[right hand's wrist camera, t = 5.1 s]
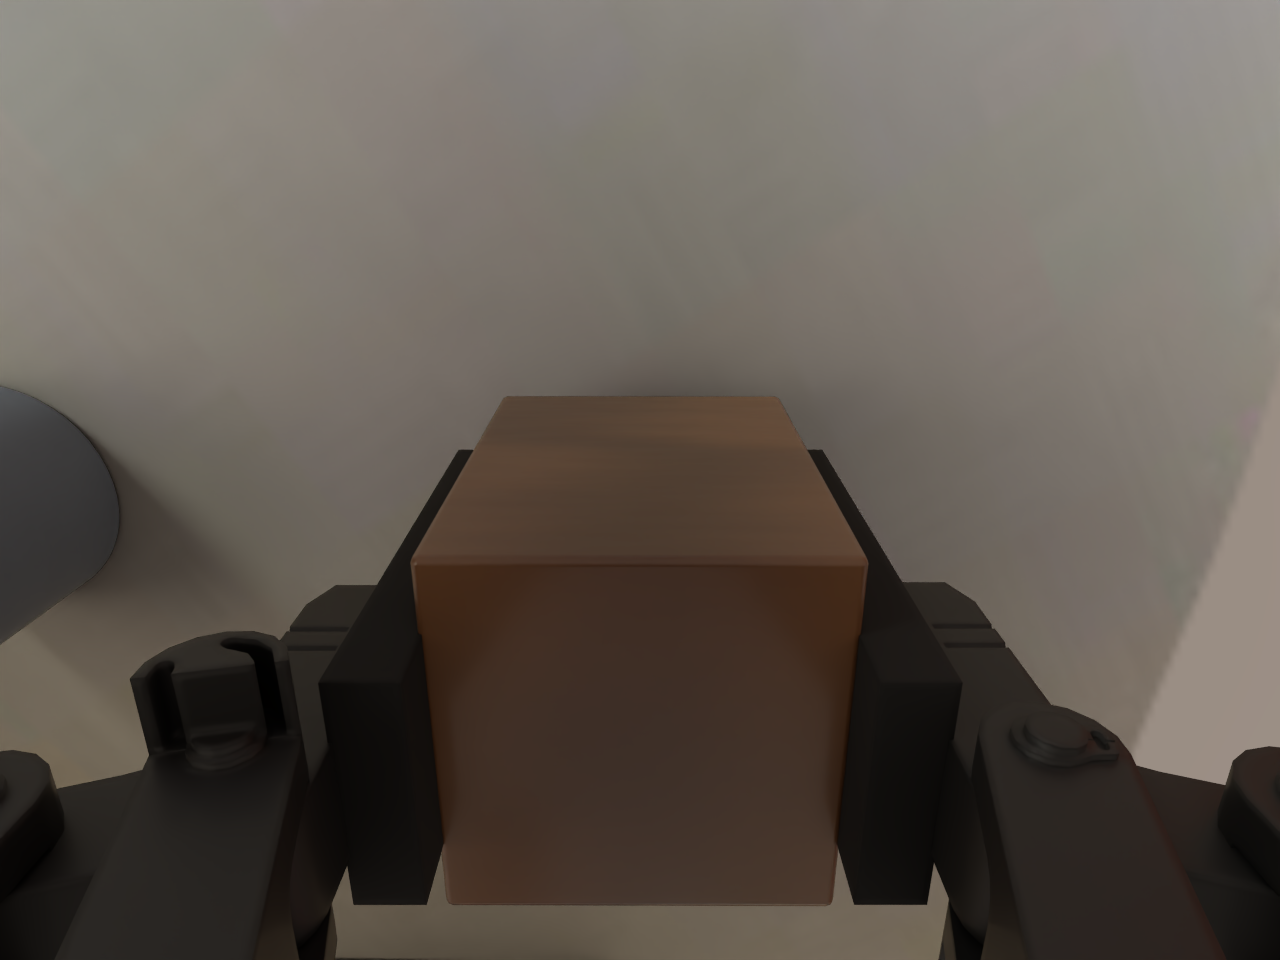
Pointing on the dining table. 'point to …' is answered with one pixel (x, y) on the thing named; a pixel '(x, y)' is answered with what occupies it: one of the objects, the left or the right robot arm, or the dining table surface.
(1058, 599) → the dining table surface
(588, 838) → the walnut block
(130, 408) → the dining table surface
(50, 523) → the grey cylinder
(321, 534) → the dining table surface
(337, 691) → the right robot arm
